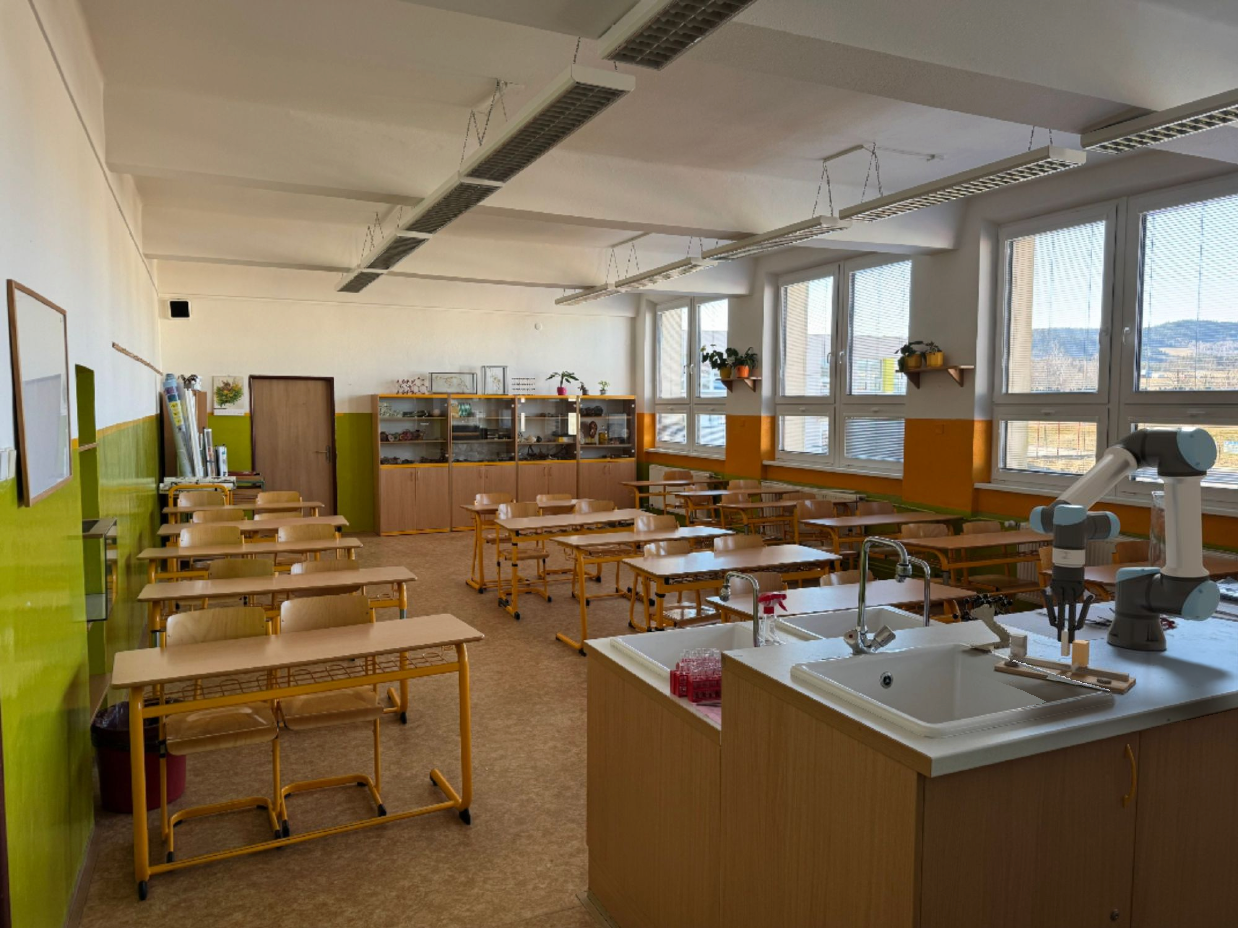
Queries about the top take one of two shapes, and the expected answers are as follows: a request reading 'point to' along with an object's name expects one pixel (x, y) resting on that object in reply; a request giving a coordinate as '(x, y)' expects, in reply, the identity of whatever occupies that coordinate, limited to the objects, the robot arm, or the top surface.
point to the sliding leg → (1080, 654)
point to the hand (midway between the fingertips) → (1065, 654)
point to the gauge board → (1069, 674)
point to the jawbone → (991, 627)
